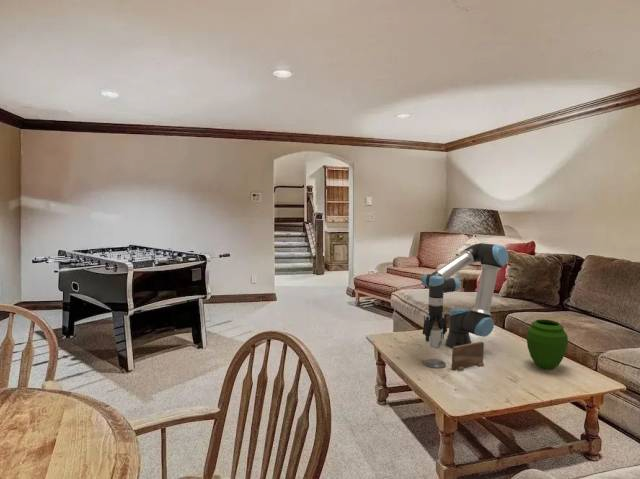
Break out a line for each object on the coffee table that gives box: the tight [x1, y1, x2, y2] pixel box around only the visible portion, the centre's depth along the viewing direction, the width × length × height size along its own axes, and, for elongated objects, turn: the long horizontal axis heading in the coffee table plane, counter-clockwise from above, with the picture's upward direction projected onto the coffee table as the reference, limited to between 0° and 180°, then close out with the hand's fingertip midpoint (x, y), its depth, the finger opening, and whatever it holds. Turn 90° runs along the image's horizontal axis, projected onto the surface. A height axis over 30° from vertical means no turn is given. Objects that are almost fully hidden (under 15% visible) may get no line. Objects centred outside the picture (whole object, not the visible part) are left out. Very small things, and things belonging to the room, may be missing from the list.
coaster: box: [422, 358, 447, 370], centre depth 220 cm, size 12×12×1 cm
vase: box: [525, 319, 569, 371], centre depth 214 cm, size 20×20×24 cm
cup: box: [430, 325, 443, 349], centre depth 219 cm, size 8×8×10 cm
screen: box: [450, 341, 485, 372], centre depth 216 cm, size 6×20×12 cm, turn 114°
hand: (434, 346), depth 219 cm, fingers closed on cup, 8 cm apart
